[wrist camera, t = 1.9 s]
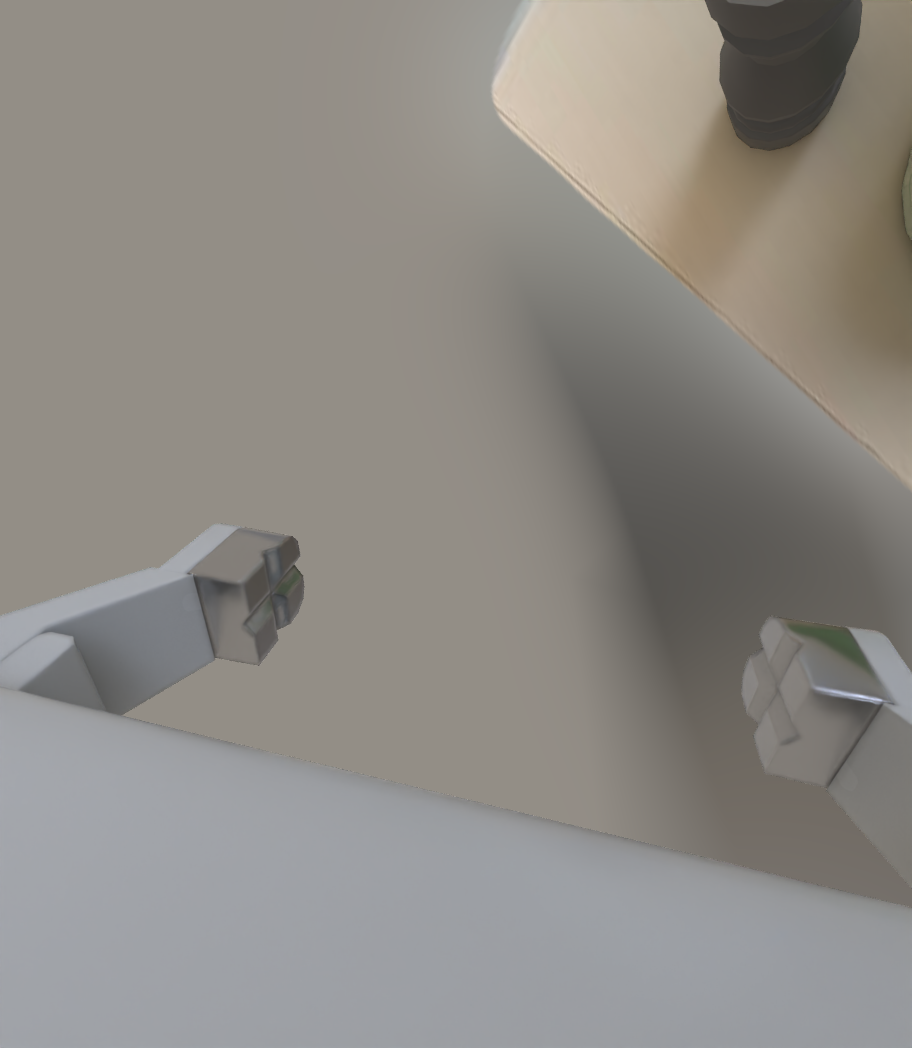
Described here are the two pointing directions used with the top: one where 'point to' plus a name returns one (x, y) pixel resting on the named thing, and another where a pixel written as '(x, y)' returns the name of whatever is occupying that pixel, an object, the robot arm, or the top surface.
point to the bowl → (908, 197)
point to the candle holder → (783, 64)
